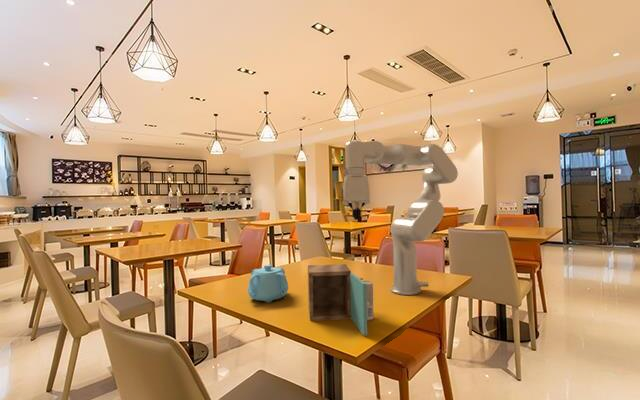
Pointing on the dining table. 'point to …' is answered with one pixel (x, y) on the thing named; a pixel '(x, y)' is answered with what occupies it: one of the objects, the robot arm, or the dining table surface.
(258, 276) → the decorative pot
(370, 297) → the energy drink
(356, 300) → the door
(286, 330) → the dining table surface
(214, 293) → the dining table surface
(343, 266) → the cabinet
